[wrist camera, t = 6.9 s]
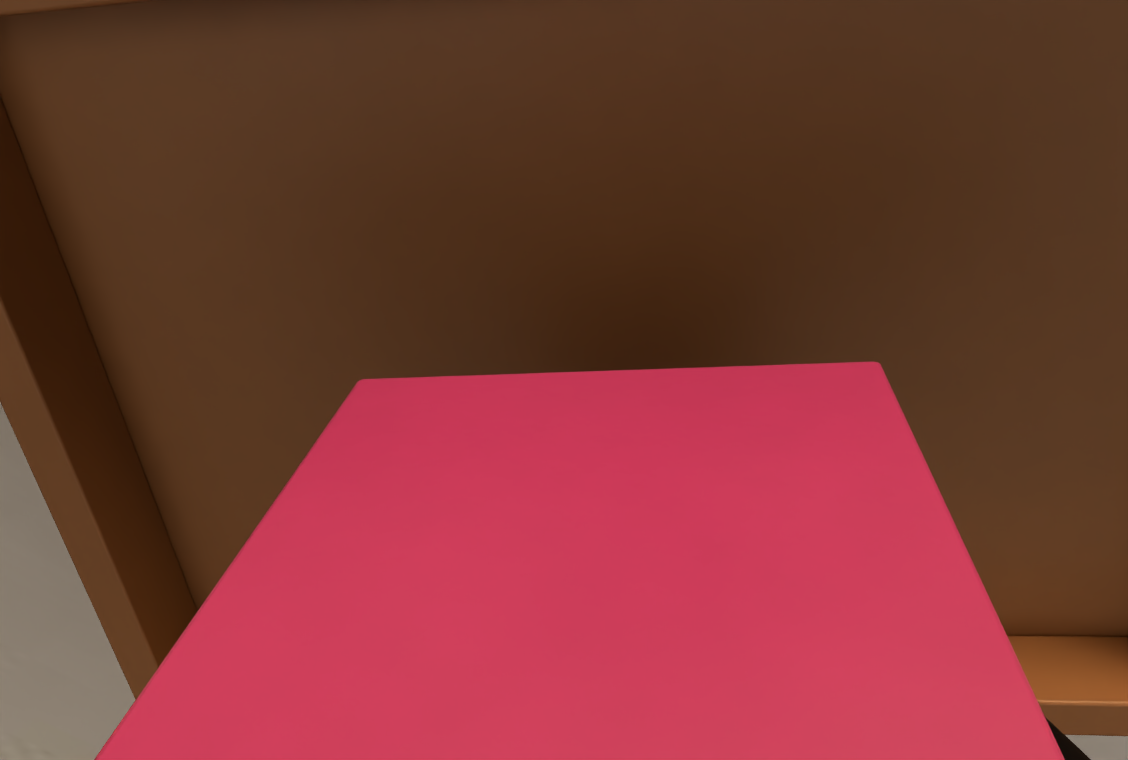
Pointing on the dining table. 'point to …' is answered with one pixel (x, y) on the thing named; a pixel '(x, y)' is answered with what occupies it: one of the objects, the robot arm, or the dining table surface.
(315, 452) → the mulberry block
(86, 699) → the dining table surface
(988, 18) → the tray
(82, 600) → the dining table surface
